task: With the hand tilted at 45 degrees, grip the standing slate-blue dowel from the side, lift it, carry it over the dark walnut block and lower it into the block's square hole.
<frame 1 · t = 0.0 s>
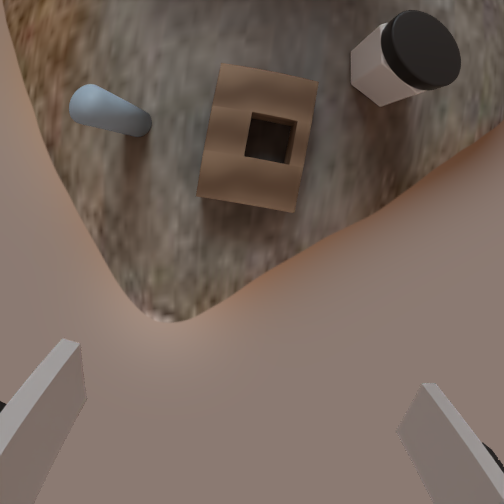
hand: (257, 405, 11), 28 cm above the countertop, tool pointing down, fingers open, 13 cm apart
hole block: (267, 141, 35), on the countertop
peg: (138, 123, 34), on the countertop
jar: (378, 74, 33), on the countertop
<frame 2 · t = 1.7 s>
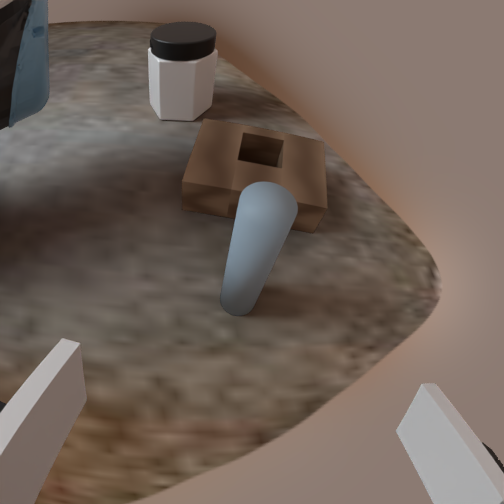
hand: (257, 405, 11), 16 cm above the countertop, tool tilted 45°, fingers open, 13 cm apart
hole block: (254, 177, 37), on the countertop
peg: (237, 299, 29), on the countertop
jar: (180, 106, 42), on the countertop
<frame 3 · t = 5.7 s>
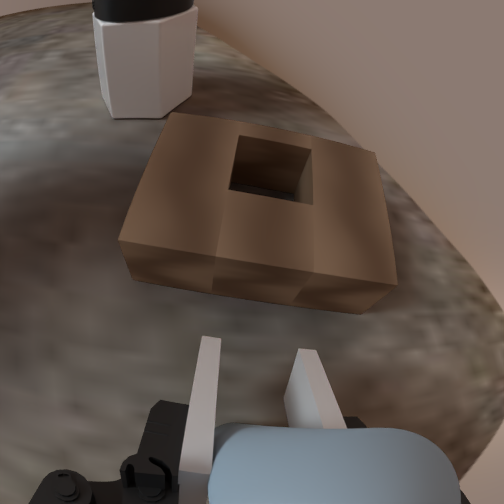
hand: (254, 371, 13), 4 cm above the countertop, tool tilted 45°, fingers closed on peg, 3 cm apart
hole block: (259, 213, 22), on the countertop
peg: (233, 451, 14), on the countertop, touching gripper
jar: (145, 97, 27), on the countertop
when the fingers open (6 cm above the countertop, at t = 10.1 s): peg drops 2 cm, resting in hole block.
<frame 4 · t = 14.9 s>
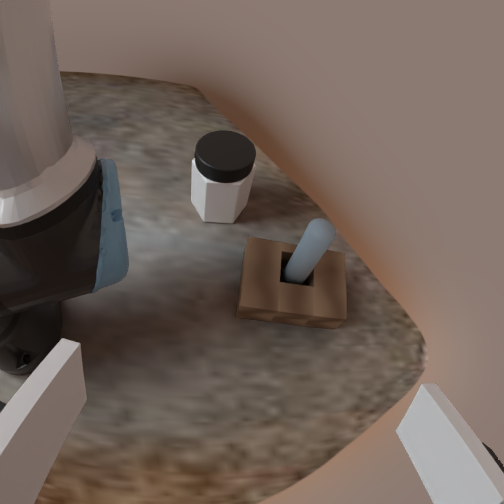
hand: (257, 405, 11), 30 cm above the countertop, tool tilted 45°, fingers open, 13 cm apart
hole block: (288, 282, 47), on the countertop
peg: (289, 283, 47), resting in hole block
jar: (218, 204, 52), on the countertop
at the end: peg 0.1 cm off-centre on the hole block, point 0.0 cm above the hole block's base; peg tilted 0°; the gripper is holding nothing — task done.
